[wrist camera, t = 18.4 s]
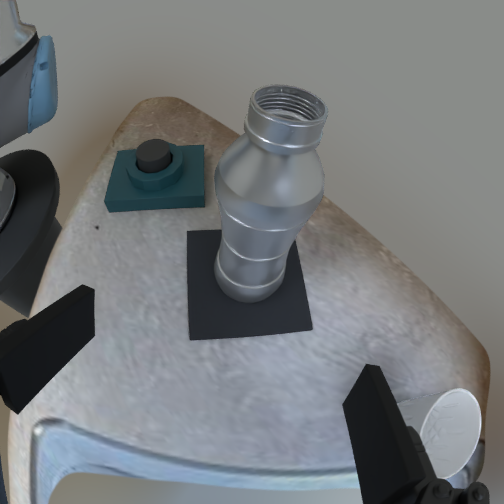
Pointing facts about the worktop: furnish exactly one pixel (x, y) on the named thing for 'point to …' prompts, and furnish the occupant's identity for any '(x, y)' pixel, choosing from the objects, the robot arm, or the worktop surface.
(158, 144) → the button
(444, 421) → the white cup
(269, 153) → the silver bottle
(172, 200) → the teal pump base
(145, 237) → the worktop surface
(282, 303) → the mat
